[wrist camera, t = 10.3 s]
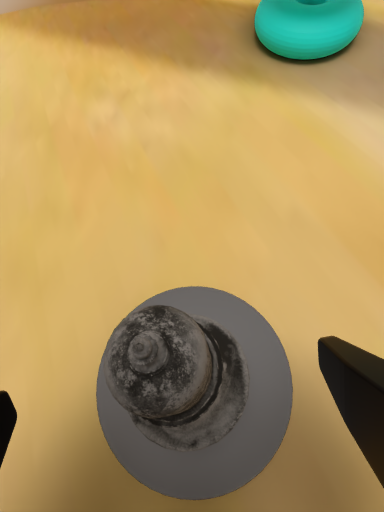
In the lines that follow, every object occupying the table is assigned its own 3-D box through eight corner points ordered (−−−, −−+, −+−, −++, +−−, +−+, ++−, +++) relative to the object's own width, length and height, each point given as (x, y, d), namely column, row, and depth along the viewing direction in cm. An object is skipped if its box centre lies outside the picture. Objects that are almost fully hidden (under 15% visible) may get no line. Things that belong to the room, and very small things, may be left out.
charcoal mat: (306, 495, 15) (310, 499, 15) (91, 495, 16) (84, 500, 15) (275, 286, 20) (276, 281, 19) (110, 294, 21) (106, 291, 20)
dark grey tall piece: (125, 420, 17) (-55, 453, 6) (160, 317, 19) (76, 206, 8) (231, 459, 16) (246, 586, 5) (255, 344, 18) (301, 255, 7)
